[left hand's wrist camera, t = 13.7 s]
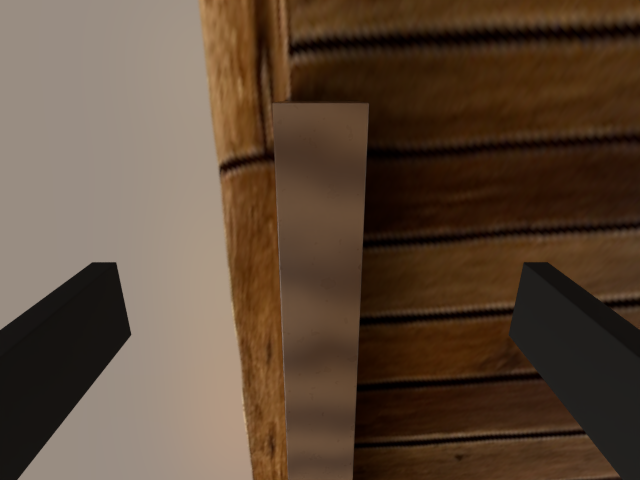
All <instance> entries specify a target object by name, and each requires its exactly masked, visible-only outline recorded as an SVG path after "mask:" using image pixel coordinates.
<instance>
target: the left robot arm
mask: <svg viewBox="0 0 640 480" xmlns="http://www.w3.org/2000/svg"><path fill="white" fill-rule="evenodd" d="M130 336H131V331H130V326H129V321H128V317H127V312H126V307H125V302H124V298H123V293H122V288H121V283H120V279H119V274H118V269H117V264H116V262H93V263H91V264H90V265H88V266H87V267H86V268H84V269H83V270H81V271H80V272H79V273H77V274H76V275H75V276H73V277H72V278H71V279H69V280H68V281H66V282H65V283H64V284H62V285H61V286H60V287H58V288H57V289H56V290H54V291H53V292H51V293H50V294H49V295H47V296H46V297H45V298H43V299H42V300H41V301H39V302H38V303H36V304H35V305H34V306H32V307H31V308H30V309H28V310H27V311H26V312H24V313H23V314H22V315H20V316H19V317H17V318H16V319H15V320H13V321H12V322H11V323H9V324H8V325H7V326H5V327H4V328H2V329H1V330H0V480H17V479H18V478H19V477H20V476H21V474H22V473H23V472H24V470H25V469H26V468H27V467H28V465H29V464H30V463H31V462H32V460H33V459H34V458H35V457H36V455H37V454H38V453H39V451H40V450H41V449H42V448H43V446H44V445H45V444H46V442H47V441H48V440H49V439H50V437H51V436H52V435H53V434H54V432H55V431H56V430H57V429H58V427H59V426H60V425H61V424H62V422H63V421H64V420H65V418H66V417H67V416H68V414H69V413H70V412H71V411H72V410H73V408H74V407H75V406H76V404H77V403H78V402H79V401H80V399H81V398H82V397H83V396H84V394H85V393H86V392H87V390H88V389H89V388H90V387H91V385H92V384H93V383H94V381H95V380H96V379H97V378H98V376H99V375H100V374H101V373H102V371H103V370H104V369H105V368H106V366H107V365H108V364H109V363H110V361H111V360H112V359H113V357H114V356H115V355H116V354H117V352H118V351H119V350H120V349H121V347H122V346H123V345H124V343H125V342H126V341H127V340H128V338H129V337H130ZM509 336H510V337H511V338H512V340H513V341H514V342H515V343H516V345H517V346H518V347H519V349H520V350H521V351H522V352H523V354H524V355H525V356H526V357H527V359H528V360H529V361H530V363H531V364H532V365H533V366H534V368H535V369H536V370H537V371H538V373H539V374H540V375H541V376H542V378H543V379H544V380H545V382H546V383H547V384H548V385H549V387H550V388H551V389H552V390H553V392H554V393H555V394H556V396H557V397H558V398H559V399H560V401H561V402H562V403H563V404H564V406H565V407H566V408H567V410H568V411H569V412H570V413H571V415H572V416H573V417H574V418H575V420H576V421H577V422H578V424H579V425H580V426H581V427H582V429H583V430H584V431H585V432H586V434H587V435H588V436H589V437H590V439H591V440H592V441H593V443H594V444H595V445H596V446H597V448H598V449H599V450H600V451H601V453H602V454H603V455H604V457H605V458H606V459H607V460H608V462H609V463H610V464H611V465H612V467H613V468H614V469H615V471H616V472H617V473H618V474H619V476H620V477H621V478H622V479H623V480H640V330H639V329H638V328H636V327H635V326H633V325H632V324H631V323H629V322H628V321H627V320H625V319H624V318H623V317H621V316H620V315H618V314H617V313H616V312H614V311H613V310H612V309H610V308H609V307H608V306H606V305H605V304H604V303H602V302H601V301H599V300H598V299H597V298H595V297H594V296H593V295H591V294H590V293H589V292H587V291H586V290H584V289H583V288H582V287H580V286H579V285H578V284H576V283H575V282H574V281H572V280H571V279H570V278H568V277H567V276H565V275H564V274H563V273H561V272H560V271H559V270H557V269H556V268H555V267H553V266H552V265H550V264H549V263H548V262H524V264H523V269H522V274H521V278H520V283H519V288H518V293H517V298H516V302H515V307H514V312H513V317H512V321H511V326H510V331H509Z"/></svg>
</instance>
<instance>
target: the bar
mask: <svg viewBox="0 0 640 480" xmlns="http://www.w3.org/2000/svg"><path fill="white" fill-rule="evenodd" d="M272 105H273V128H274V152H275V176H276V200H277V224H278V248H279V272H280V296H281V320H282V344H283V368H284V391H285V415H286V439H287V463H288V480H353V458H354V435H355V412H356V389H357V367H358V344H359V321H360V298H361V275H362V252H363V229H364V206H365V183H366V160H367V137H368V114H369V103H366V102H360V101H281V102H275V103H273V104H272Z"/></svg>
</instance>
